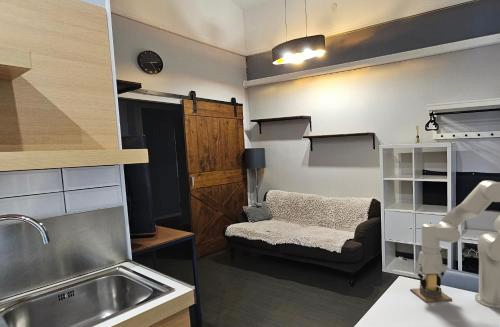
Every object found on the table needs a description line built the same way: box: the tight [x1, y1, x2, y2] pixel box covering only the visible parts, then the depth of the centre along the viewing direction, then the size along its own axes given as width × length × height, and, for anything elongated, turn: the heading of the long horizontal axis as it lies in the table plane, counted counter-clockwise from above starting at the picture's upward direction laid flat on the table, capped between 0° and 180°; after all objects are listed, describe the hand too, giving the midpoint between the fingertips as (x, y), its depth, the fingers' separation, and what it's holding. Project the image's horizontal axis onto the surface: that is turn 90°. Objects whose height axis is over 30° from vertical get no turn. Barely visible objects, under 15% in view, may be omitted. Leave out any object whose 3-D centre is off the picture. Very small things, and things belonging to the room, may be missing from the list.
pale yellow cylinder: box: [425, 274, 437, 291], centre depth 150 cm, size 5×5×10 cm
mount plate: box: [410, 284, 453, 303], centre depth 150 cm, size 13×12×4 cm
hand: (430, 285), depth 150 cm, fingers open, 6 cm apart
